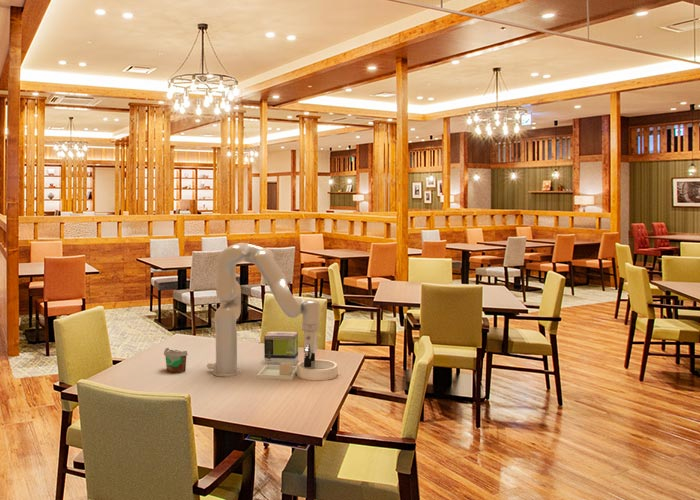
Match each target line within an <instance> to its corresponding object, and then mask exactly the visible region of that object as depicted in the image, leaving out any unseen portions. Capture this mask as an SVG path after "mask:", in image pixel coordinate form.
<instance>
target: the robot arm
mask: <svg viewBox="0 0 700 500" xmlns="http://www.w3.org/2000/svg"><path fill="white" fill-rule="evenodd" d="M242 262H246V263H248V264H253V265H255V267H256V269H257V270H258V272H259V273H260V275H261V276H262V278H263V280H264V281H265V282H266V283H267V286H268V287H269V289H270V292H271V293H272V295H273V297H274V299H275V301H276V302H277V303H276V304H278V306H279V307H280V308H281V310H282V312H283V313H284V315H285V316H287V317H289V318H291V319H295V318H297V317H298V316H300V315H302V317H301V318H302V319H301V322H302V324H301V325H302V326H301V330H302V332H304V334H303V353H304V358H303V361H304V367H311V361H315V359H316V354H315V353H316V351H317V350H318V332H319V331H320V328H319V327H320V301H319V300H316V299H303V298H298V297H294V295H293V294H292V292H291V290H290V289H289V286H288V282H287V278H286V275H285V273H284V272H283V271H282V269H281V268H280V265H279V264H278V263H277V261H276V260H275V254H274V252H273V251H272V250H271V249H269V248H267V247H261V246H257V245H255V244H250V243H246V242H238V243H234V244H231V245H230V246H227V247H226V248H225V249H223V250H221V252H220V254H219V255H218V258H217V263H216V264H217V265H216V291H215V293H216V296H217V299H218V301H220V306H219V307H218V308H217V310H215V312H214V316H213V320H214V329H215V330H214V331H215V333H214V334H215V362H214V363H211V362H210V363H207V365H206V368H207V369H211V370H212V375H213V376H215V377H220V378H224V377H225V378H226V377H234V376H238V375H240V374H241V368H238V337H237V336H238V333H237V321H238V319H239V318H240V315H241V309H242V289H241V288H242V287H241V285H240V283H239V282H238V280H237V269H236V266H237V265H238V263H242Z"/></svg>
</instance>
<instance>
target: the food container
mask: <svg viewBox="0 0 700 500" xmlns="http://www.w3.org/2000/svg"><path fill="white" fill-rule="evenodd" d="M163 355H164V356H165V357H164V358H165V367H166V372H167V373H170V374H180V373H185V372H186V368H187V367H186V366H187V356H188V351H187V350H183V351H182V350H177V349H174V350H173V349H170V348H169V347H167V348H165V349H164V351H163Z"/></svg>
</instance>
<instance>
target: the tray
mask: <svg viewBox="0 0 700 500" xmlns="http://www.w3.org/2000/svg"><path fill="white" fill-rule="evenodd" d="M296 376H297V365H296V366H294V365H293V373H292V374H291V376H290V375H279V365H266V364H264V366H263V367H262V368H261V369H260V371H259V372H258V373H257V374H256V379H257V380H280V381H293V380H294V378H295V377H296Z"/></svg>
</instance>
